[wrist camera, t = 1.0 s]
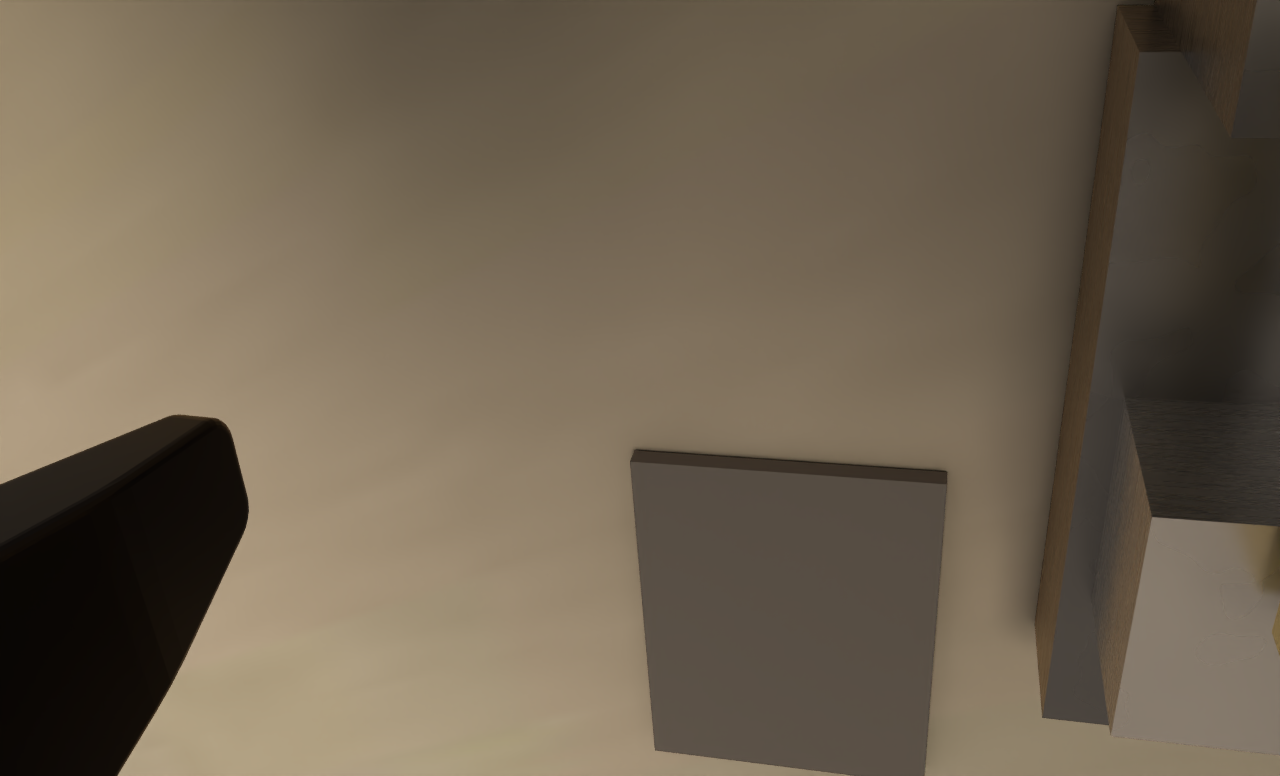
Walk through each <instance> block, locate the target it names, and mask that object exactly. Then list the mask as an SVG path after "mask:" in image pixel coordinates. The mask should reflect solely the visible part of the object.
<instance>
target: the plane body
mask: <svg viewBox="0 0 1280 776" xmlns="http://www.w3.org/2000/svg"><path fill="white" fill-rule="evenodd" d="M1124 398H1140V399H1158V400H1177V401H1195V402H1213V403H1232V404H1250V405H1269V406H1280V0H1155V1H1154V5H1118V6H1117V13H1116V21H1115V28H1114V36H1113V43H1112V51H1111V58H1110V66H1109V73H1108V81H1107V88H1106V96H1105V103H1104V110H1103V118H1102V125H1101V133H1100V140H1099V148H1098V155H1097V163H1096V170H1095V178H1094V185H1093V193H1092V200H1091V208H1090V215H1089V222H1088V230H1087V237H1086V245H1085V252H1084V260H1083V267H1082V275H1081V282H1080V290H1079V297H1078V305H1077V312H1076V320H1075V327H1074V334H1073V342H1072V349H1071V357H1070V364H1069V372H1068V379H1067V387H1066V394H1065V402H1064V409H1063V417H1062V424H1061V432H1060V439H1059V447H1058V454H1057V461H1056V469H1055V476H1054V484H1053V491H1052V499H1051V506H1050V514H1049V521H1048V529H1047V536H1046V544H1045V551H1044V559H1043V566H1042V573H1041V581H1040V588H1039V596H1038V603H1037V611H1036V618H1035V634H1036V646H1037V658H1038V670H1039V682H1040V694H1041V706H1042V718H1049V719H1058V720H1067V721H1076V722H1085V723H1094V724H1103V725H1109V721H1108V714H1107V707H1106V700H1105V693H1104V686H1103V679H1102V673H1101V666H1100V659H1099V652H1098V645H1097V638H1096V631H1095V624H1094V617H1093V610H1092V604H1091V600H1092V593H1093V587H1094V581H1095V575H1096V569H1097V563H1098V557H1099V551H1100V545H1101V538H1102V532H1103V526H1104V520H1105V514H1106V508H1107V502H1108V496H1109V490H1110V483H1111V477H1112V471H1113V465H1114V459H1115V453H1116V447H1117V441H1118V435H1119V428H1120V422H1121V416H1122V410H1123V404H1124Z"/></svg>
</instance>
